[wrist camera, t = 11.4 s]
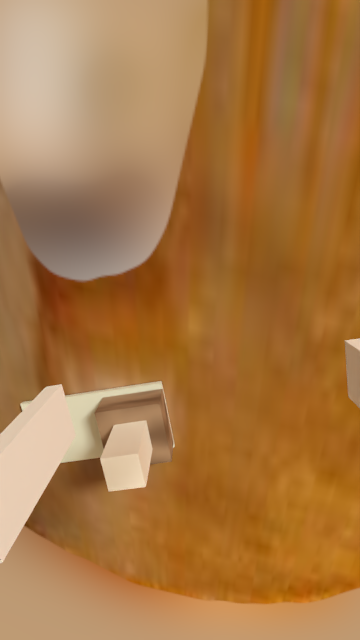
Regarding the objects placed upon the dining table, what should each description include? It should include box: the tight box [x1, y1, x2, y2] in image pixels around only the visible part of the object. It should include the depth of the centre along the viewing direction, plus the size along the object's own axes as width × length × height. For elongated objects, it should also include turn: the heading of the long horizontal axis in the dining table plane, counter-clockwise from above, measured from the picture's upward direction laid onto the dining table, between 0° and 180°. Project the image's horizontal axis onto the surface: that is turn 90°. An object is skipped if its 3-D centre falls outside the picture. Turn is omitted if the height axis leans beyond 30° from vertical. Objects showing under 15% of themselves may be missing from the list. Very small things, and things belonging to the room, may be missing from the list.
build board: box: [20, 381, 175, 463], centre depth 57 cm, size 12×24×1 cm, turn 100°
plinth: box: [94, 389, 173, 464], centre depth 54 cm, size 10×10×5 cm
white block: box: [100, 420, 153, 491], centre depth 47 cm, size 5×5×8 cm
